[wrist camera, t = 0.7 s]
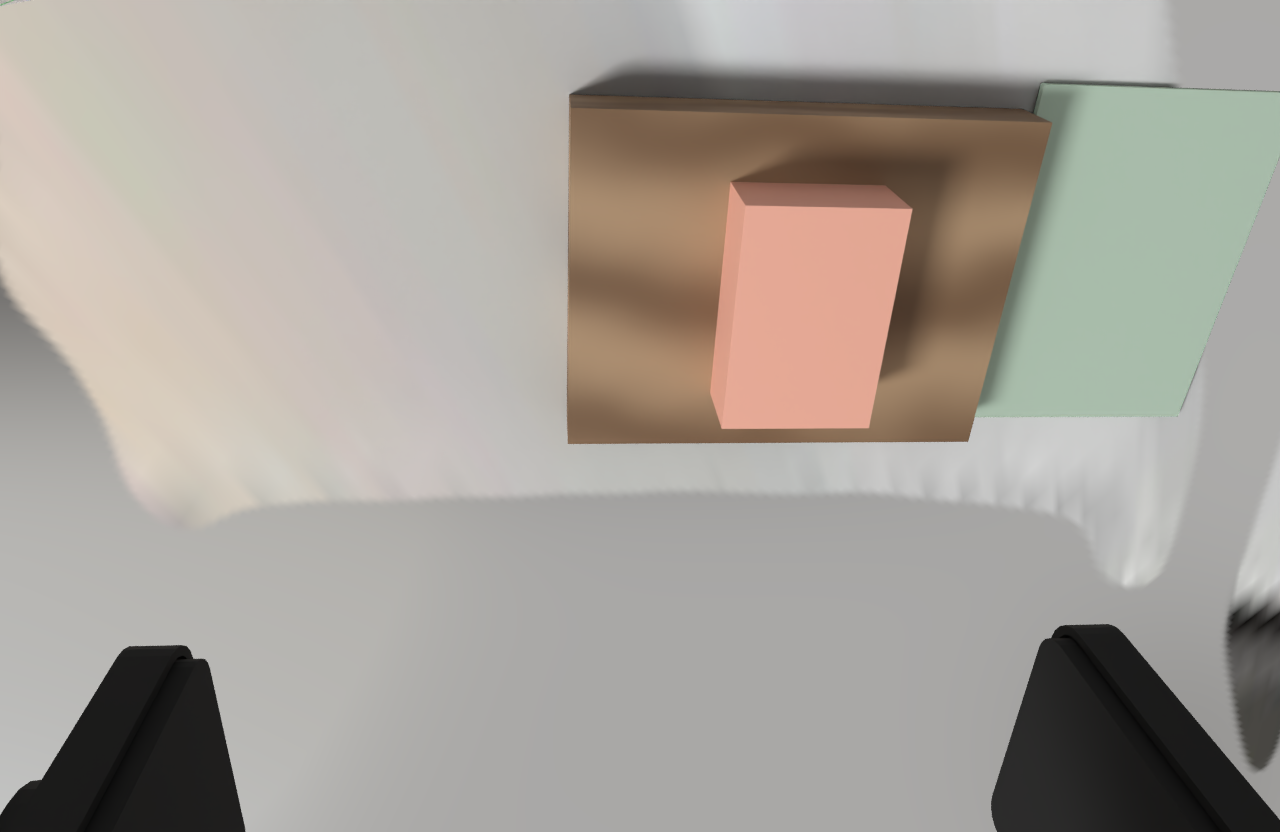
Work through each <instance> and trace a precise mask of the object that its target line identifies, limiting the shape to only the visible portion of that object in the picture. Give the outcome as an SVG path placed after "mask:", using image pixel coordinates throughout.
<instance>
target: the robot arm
mask: <svg viewBox="0 0 1280 832" xmlns="http://www.w3.org/2000/svg"><path fill="white" fill-rule="evenodd" d="M991 810H992V818H993V821H994V825H995V828H996V830H997V832H1280V820H1279V819H1278V817H1277V816H1276V815H1275V814H1274V812H1273V811H1272V810H1271V809H1270V808H1269V807H1268V805H1267V804H1266V803H1265V802H1264V801H1263V800H1262V798H1261V797H1260V796H1259V795H1258V794H1257V792H1256V791H1255V790H1254V789H1253V788H1252V786H1251V785H1250V784H1249V783H1248V782H1247V780H1246V779H1245V778H1244V777H1243V776H1242V774H1241V773H1240V772H1239V771H1238V770H1237V769H1236V767H1235V766H1234V765H1233V764H1232V763H1231V761H1230V760H1229V759H1228V758H1227V757H1226V755H1225V754H1224V753H1223V752H1222V751H1221V749H1220V748H1219V747H1218V746H1217V745H1216V743H1215V742H1214V741H1213V740H1212V739H1211V737H1210V736H1209V735H1208V734H1207V733H1206V732H1205V730H1204V729H1203V728H1202V727H1201V726H1200V724H1199V723H1198V722H1197V721H1196V720H1195V718H1194V717H1193V716H1192V715H1191V714H1190V712H1189V711H1188V710H1187V709H1186V708H1185V707H1184V705H1183V704H1182V703H1181V702H1180V701H1179V699H1178V698H1177V697H1176V696H1175V695H1174V693H1173V692H1172V691H1171V690H1170V689H1169V687H1168V686H1167V685H1166V684H1165V683H1164V682H1163V680H1162V679H1161V678H1160V677H1159V676H1158V674H1157V673H1156V672H1155V671H1154V670H1153V669H1152V667H1151V666H1150V665H1149V664H1148V662H1147V661H1146V660H1145V659H1144V658H1143V657H1142V655H1141V654H1140V653H1139V652H1138V651H1137V649H1136V648H1135V647H1134V646H1133V645H1132V644H1131V642H1130V641H1129V640H1128V639H1127V637H1126V636H1125V635H1124V634H1123V633H1122V632H1121V631H1120V630H1119V629H1118V628H1116V627H1115V626H1112V625H1109V624H1100V625H1064V626H1060V627H1059V628H1057V629H1056V630H1055V631H1054V634H1053V635H1052V638H1049V639H1045V640H1044V641H1043V642H1042V643H1041V645H1040V647H1039V650H1038V653H1037V656H1036V659H1035V662H1034V666H1033V669H1032V672H1031V675H1030V678H1029V681H1028V685H1027V688H1026V691H1025V694H1024V697H1023V701H1022V704H1021V707H1020V710H1019V713H1018V716H1017V719H1016V723H1015V726H1014V729H1013V732H1012V735H1011V738H1010V742H1009V745H1008V748H1007V751H1006V754H1005V757H1004V761H1003V764H1002V767H1001V770H1000V773H999V776H998V780H997V783H996V786H995V789H994V792H993V796H992V801H991ZM0 832H245V826H244V821H243V817H242V813H241V808H240V803H239V798H238V794H237V789H236V785H235V780H234V776H233V771H232V767H231V762H230V758H229V754H228V749H227V744H226V740H225V735H224V731H223V726H222V722H221V717H220V712H219V708H218V703H217V699H216V694H215V690H214V685H213V681H212V676H211V672H210V668H209V665H208V662H207V661H206V660H205V659H193V657H192V654H191V651H190V650H189V649H188V647H187V646H182V645H173V646H132V647H131V646H129V647H127V648H125V649H124V650H123V651H122V652H121V653H120V654H119V656H118V657H117V658H116V660H115V662H114V663H113V665H112V666H111V668H110V670H109V671H108V673H107V675H106V676H105V678H104V680H103V681H102V683H101V684H100V686H99V688H98V689H97V691H96V692H95V694H94V696H93V697H92V699H91V701H90V702H89V704H88V706H87V707H86V709H85V710H84V712H83V714H82V715H81V717H80V718H79V720H78V722H77V724H76V725H75V727H74V728H73V730H72V731H71V733H70V735H69V736H68V738H67V740H66V741H65V743H64V744H63V746H62V748H61V749H60V751H59V753H58V754H57V756H56V757H55V759H54V761H53V762H52V764H51V766H50V767H49V769H48V771H47V772H46V774H45V775H44V777H43V779H42V780H37V781H30V782H29V783H28V784H26V785H25V786H23V787H22V788H20V789H19V790H18V791H17V793H16V794H15V795H14V797H13V798H12V799H11V800H10V801H9V803H8V804H7V805H6V807H5V809H4V810H3V812H2V814H1V815H0Z"/></svg>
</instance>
